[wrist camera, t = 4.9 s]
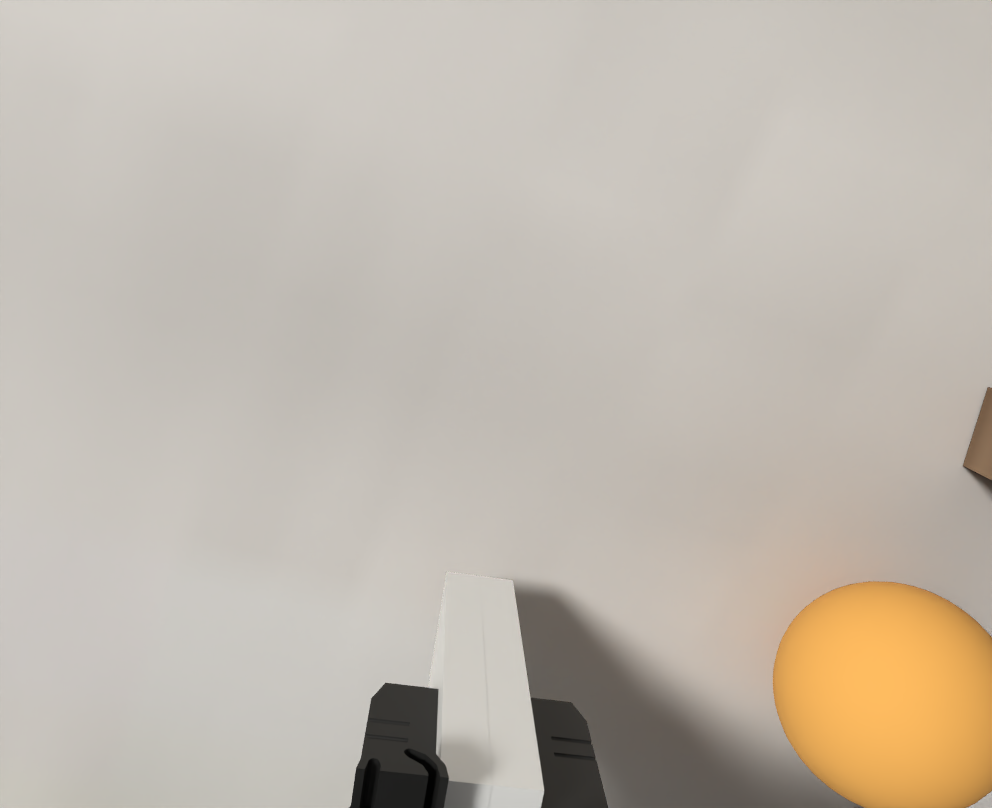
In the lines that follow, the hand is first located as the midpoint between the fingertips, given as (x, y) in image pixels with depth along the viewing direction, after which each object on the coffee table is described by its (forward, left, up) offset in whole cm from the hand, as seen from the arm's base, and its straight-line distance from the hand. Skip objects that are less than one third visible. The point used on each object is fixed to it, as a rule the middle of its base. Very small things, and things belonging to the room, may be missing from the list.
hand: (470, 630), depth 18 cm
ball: (-10, 0, +1) cm, 10 cm away
